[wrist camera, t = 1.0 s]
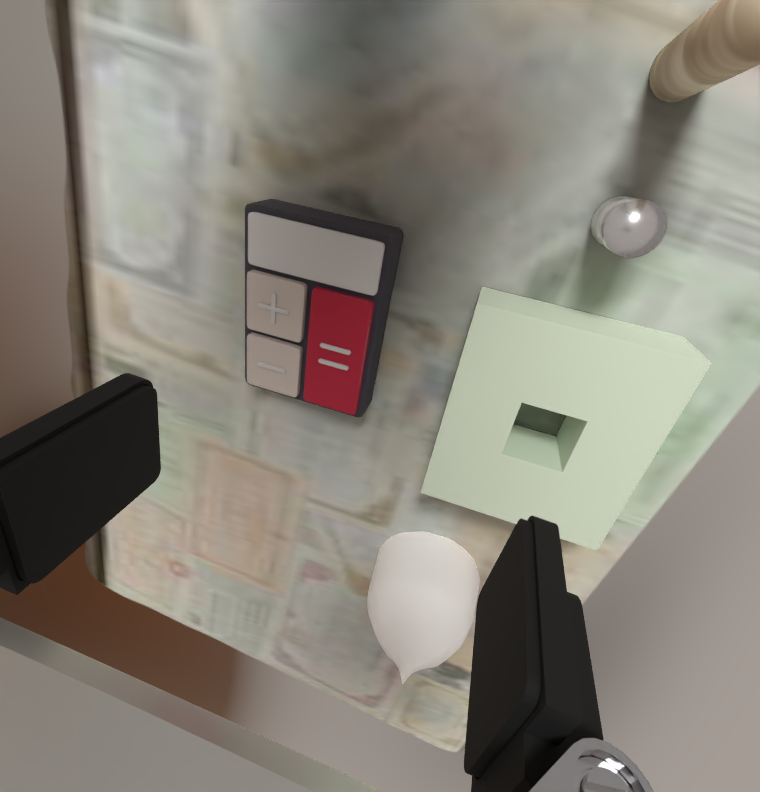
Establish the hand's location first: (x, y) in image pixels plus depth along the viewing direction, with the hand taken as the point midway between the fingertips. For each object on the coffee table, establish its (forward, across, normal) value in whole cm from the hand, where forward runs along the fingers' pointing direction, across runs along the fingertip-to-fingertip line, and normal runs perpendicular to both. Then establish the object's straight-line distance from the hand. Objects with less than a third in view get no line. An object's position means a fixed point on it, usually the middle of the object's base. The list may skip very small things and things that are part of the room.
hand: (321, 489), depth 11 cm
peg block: (+25, -10, +8) cm, 28 cm away
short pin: (+25, -9, -6) cm, 28 cm away
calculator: (+26, +9, +6) cm, 28 cm away
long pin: (+25, -9, -14) cm, 30 cm away
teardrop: (+25, -7, +30) cm, 40 cm away
